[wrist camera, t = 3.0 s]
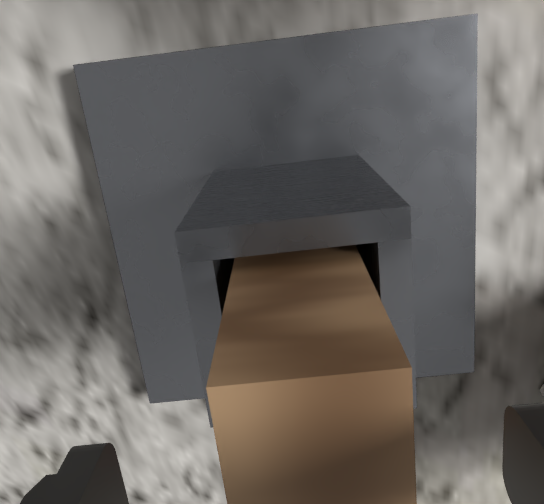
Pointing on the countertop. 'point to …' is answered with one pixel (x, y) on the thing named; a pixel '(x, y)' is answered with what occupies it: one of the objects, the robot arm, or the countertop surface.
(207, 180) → the stand base
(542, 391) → the coffee box
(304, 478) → the stand post
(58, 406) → the countertop surface
